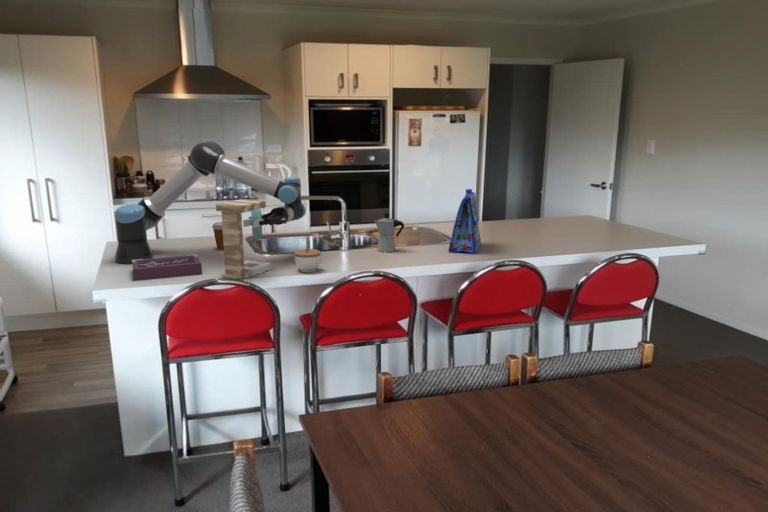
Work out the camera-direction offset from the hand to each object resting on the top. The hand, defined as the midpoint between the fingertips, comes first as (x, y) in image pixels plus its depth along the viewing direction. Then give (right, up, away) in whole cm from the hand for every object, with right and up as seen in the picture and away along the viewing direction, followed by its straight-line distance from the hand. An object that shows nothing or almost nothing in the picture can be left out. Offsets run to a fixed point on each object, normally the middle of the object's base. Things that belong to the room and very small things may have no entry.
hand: (248, 224), depth 234 cm
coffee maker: (+57, -11, +39) cm, 70 cm away
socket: (0, -19, +2) cm, 19 cm away
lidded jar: (+23, -19, +4) cm, 30 cm away
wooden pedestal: (-2, -20, -2) cm, 20 cm away
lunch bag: (+94, -9, +45) cm, 104 cm away
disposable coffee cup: (-22, -10, +42) cm, 48 cm away
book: (-33, -20, 0) cm, 39 cm away
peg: (+2, -6, +6) cm, 9 cm away
